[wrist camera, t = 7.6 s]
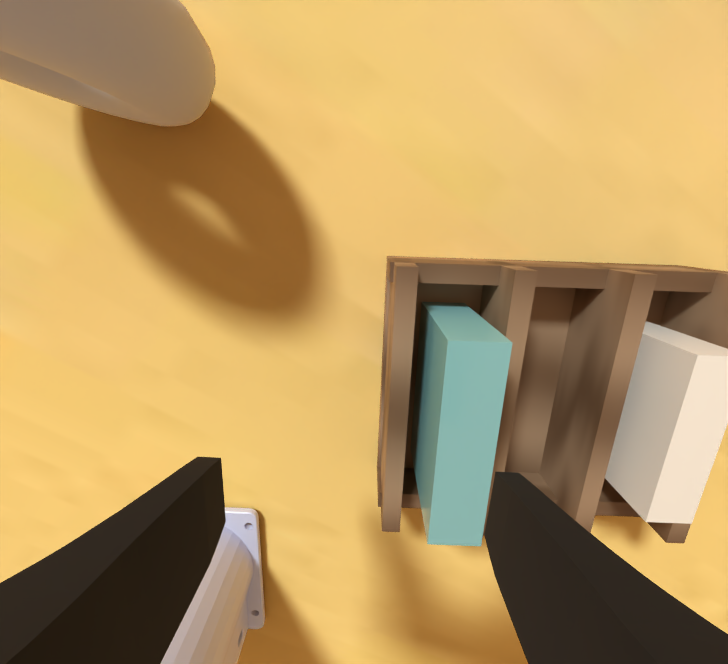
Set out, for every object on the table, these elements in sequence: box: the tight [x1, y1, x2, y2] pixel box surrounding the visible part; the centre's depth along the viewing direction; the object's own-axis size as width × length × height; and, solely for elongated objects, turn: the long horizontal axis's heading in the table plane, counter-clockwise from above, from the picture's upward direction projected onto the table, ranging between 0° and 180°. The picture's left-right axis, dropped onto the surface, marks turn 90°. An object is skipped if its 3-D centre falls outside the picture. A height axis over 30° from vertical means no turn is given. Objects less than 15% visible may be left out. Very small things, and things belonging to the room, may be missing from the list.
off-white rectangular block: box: [605, 321, 728, 524], centre depth 16 cm, size 7×2×5 cm, turn 178°
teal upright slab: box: [411, 302, 512, 546], centre depth 15 cm, size 8×2×6 cm, turn 178°
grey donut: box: [0, 0, 215, 127], centre depth 11 cm, size 10×4×10 cm, turn 75°
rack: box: [377, 256, 728, 543], centre depth 17 cm, size 12×14×4 cm
